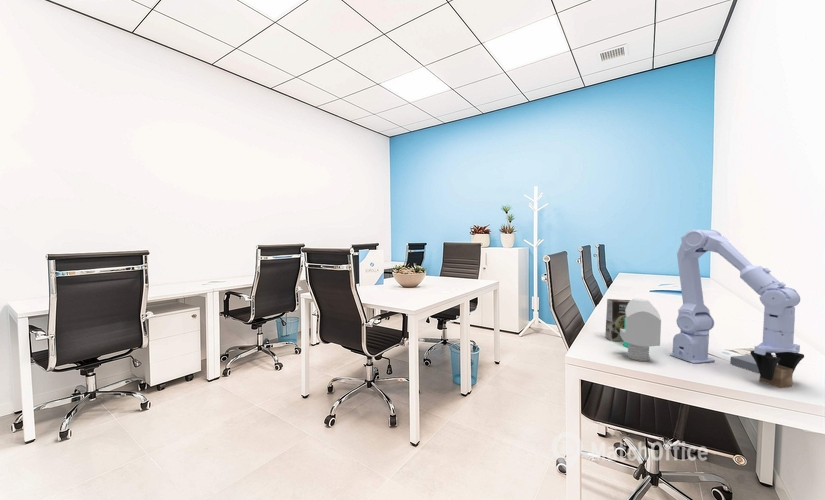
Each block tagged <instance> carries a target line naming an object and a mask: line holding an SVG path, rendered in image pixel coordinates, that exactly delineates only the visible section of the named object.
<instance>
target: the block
mask: <svg viewBox="0 0 825 500" xmlns="http://www.w3.org/2000/svg"><path fill="white" fill-rule="evenodd" d="M793 374H794V372H793V369H791V368H787V367H784V366H780V365H776V367H775V370H774V375H773V379H772V380H767V379H764V378H761V376H760V375H759V382H762V383H765V384H767V385H771V386H773V387H777V388H779V389H783V388H791V387H793Z"/></svg>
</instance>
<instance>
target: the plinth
mask: <svg viewBox="0 0 825 500" xmlns="http://www.w3.org/2000/svg"><path fill="white" fill-rule="evenodd" d="M729 361H730V363H729V364H730V365H731V364H732V365H731V366H734V365H735V367H738V368H741V367H742V368H741V369H744V368H746V369H745V370H747V369H748V371H750V370H751V371H750V372H753V373H757V374H758V375H760V373H759V370H758V367H757V364H756V362H755V360H754V358H753V357H752V355H751V354H744V355H734V356H733V355H731V356H730V360H729ZM777 365H778V363H777Z"/></svg>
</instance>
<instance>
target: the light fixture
mask: <svg viewBox="0 0 825 500" xmlns="http://www.w3.org/2000/svg"><path fill="white" fill-rule="evenodd" d="M630 300H631V301H630V302H629V303H628V305H627V307H626V309H625V315H626V329H620V336H621V338H622V340H623V341H624V342H627V343H629V344H628V347H627V358H630V359H631V360H635V361H638V362H640V361H641V362H647V361H649V358H650V347H659V346H661V332H662V331H661V330H662V318H661V315H660V313H659V311H658V310H657V309H656V307H655V306H654V305H653V304H652V303H651V301H649V300H648V299H643V298H631V299H630ZM624 342H623V343H624Z"/></svg>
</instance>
